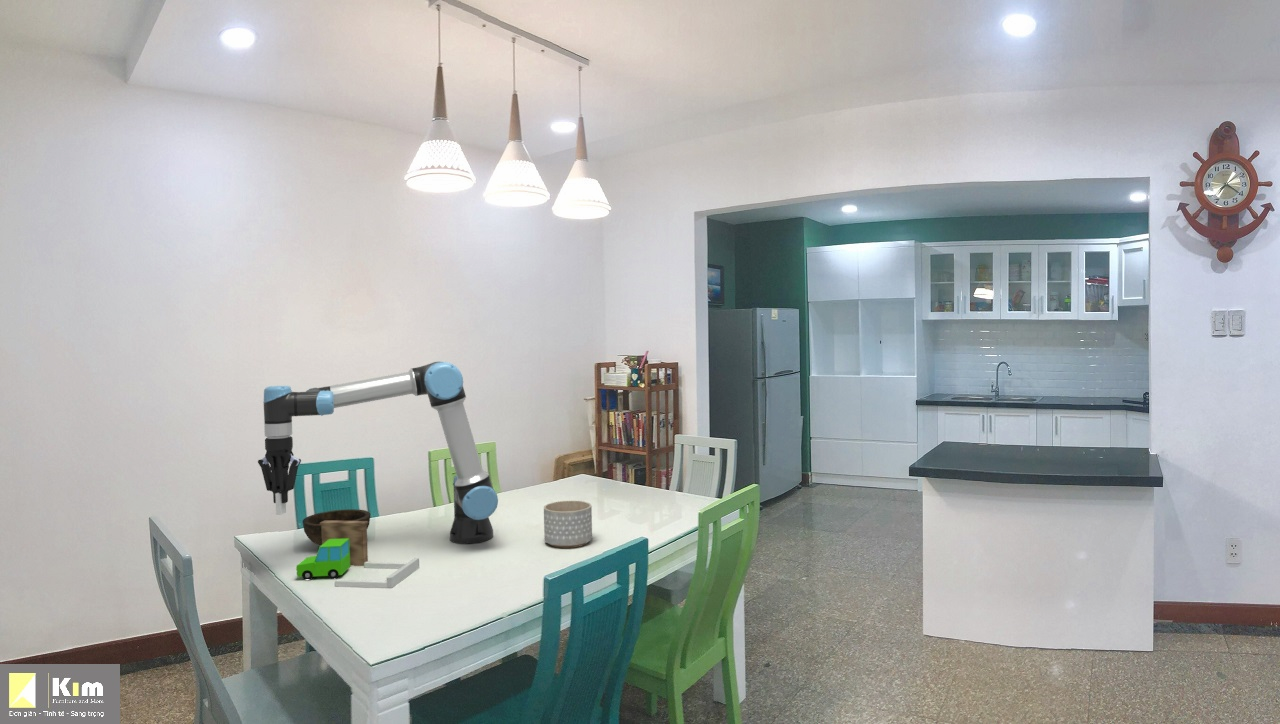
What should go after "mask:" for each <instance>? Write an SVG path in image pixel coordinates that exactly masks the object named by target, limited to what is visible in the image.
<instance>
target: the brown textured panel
mask: <svg viewBox="0 0 1280 724" xmlns="http://www.w3.org/2000/svg"><path fill="white" fill-rule="evenodd" d="M367 524H368V521H332V520H324V521H322V522H320V525H321V531H322V544H324V543H325V542H326V541H327V540H329V539H345V538H349V543H350V565H354V566H355V567H356V566H357V567H361V566H362V567H364V563H365V562H369V560H368V559H369V556H368V555H369V554H368V553H369V551H368V529H367ZM354 566H353V567H354Z"/></svg>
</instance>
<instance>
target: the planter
mask: <svg viewBox="0 0 1280 724" xmlns="http://www.w3.org/2000/svg"><path fill="white" fill-rule="evenodd" d="M592 507H593V506H592V504H591V503H590V502H587V501H584V500H583V501H582V500H561V501H559V500H558V501H554V502H550V503H547V504H545V505H544V506H543V525H544V526H543V528H544V529H543V531H544V535H543V537H544V542H545V543H546V544H548V545H550V546H551V547H555V548H561V549H562V548H563V549H568V548H569V549H570V548H579V547H582V546H584V545H586V544H587V543H589V542H590V541H592V540H593V519H592V517H593V516H592V514H593V513H592Z"/></svg>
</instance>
